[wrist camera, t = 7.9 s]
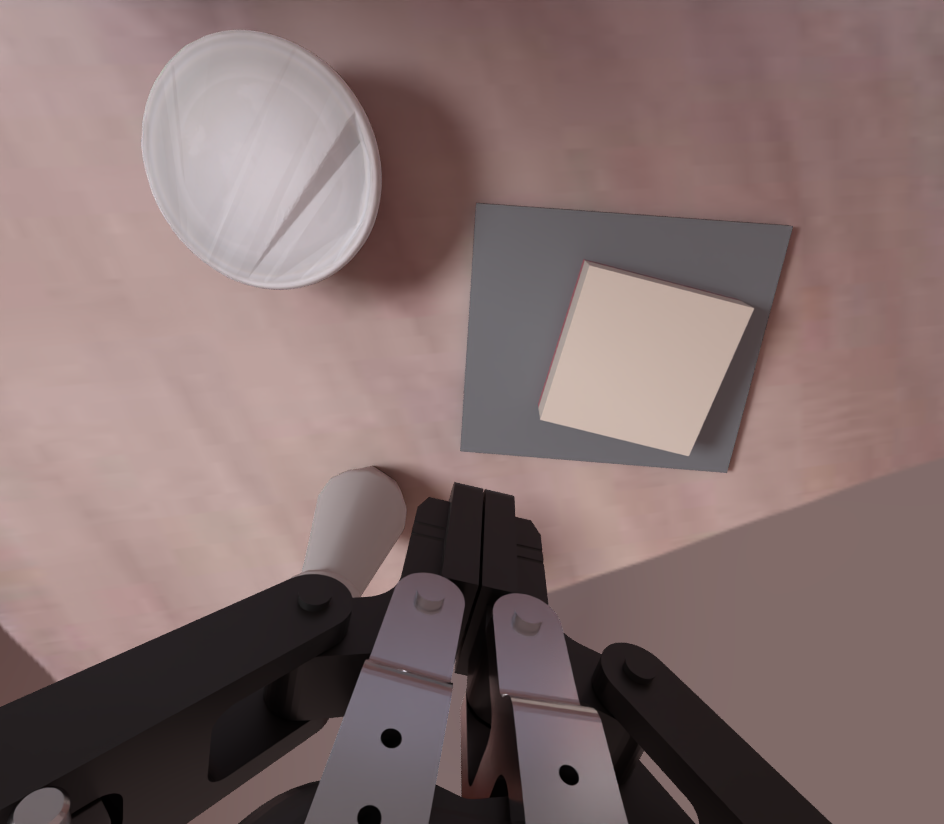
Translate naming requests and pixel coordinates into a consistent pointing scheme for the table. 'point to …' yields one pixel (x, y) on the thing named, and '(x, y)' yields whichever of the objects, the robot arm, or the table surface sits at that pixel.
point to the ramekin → (261, 159)
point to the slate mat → (546, 303)
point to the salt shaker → (355, 527)
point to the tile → (640, 357)
